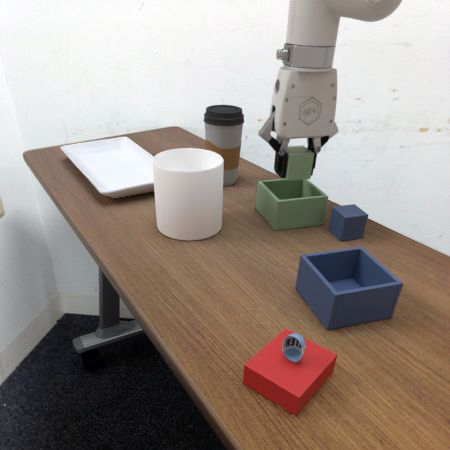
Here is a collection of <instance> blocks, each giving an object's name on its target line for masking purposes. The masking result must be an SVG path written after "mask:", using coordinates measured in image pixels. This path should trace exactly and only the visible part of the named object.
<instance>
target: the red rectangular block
mask: <svg viewBox="0 0 450 450" xmlns="http://www.w3.org/2000/svg"><path fill="white" fill-rule="evenodd" d="M337 359H338V354H337V353H334V352H333V351H331V350H329V349H327V348H324V347H323V346H321V345H319V344H317V343H315V342H313V341H311V340H310V339H307V338H305V337H304V336H303V335H302V334H299V333H296V332H293V331H292V330H290V329H288V328H284V329H283V330H282V331H281V332H280V333H278V335H276V336H275V337H274V338H273V339H272V340H270V342H268V343H267V344H266V345H265V346H263V348H261V350H259V351H258V352H257V353H256V354H255V355H254V356H252V358H250V359H249V360H248V361H246V363H244V365H243V377H242V383H243V384H244V385H245V386H247V387H249V388H250V389H252V390H253V391H255V392H256V393H258V394H259V395H261V396H263V397H264V398H266V399H268V401H271V402H272V403H274V404H275V405H277V406H279V407H280V408H282V409H284V410H285V411H287V413H290V414H292V416H294V417H295V416H297V415H298V414H299V413H300V411H302V409H303V408H304V407H305V406H306V405H307V403H308V402H309V401H310V400H311V399H312V398H313V397H314V395H315V394H316V393H317V392H318V391H319V390H320V388H321V387H323V385H324V384H325V382H327V380H328V379H329V378H330V377H331V376H332V374H334V369H335V366H336V362H337Z"/></svg>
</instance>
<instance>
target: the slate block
mask: <svg viewBox="0 0 450 450" xmlns="http://www.w3.org/2000/svg"><path fill="white" fill-rule="evenodd" d="M368 219H369V213H367V212H366V211H364V210H363V209H362V208H360V207H359V206H357V205H356V204H355V203H353V204H344V205H336V206H331V211H330V216H329V222H328V226H327V227H328V228H327V230H328V232H330V233H331V235H333V236H334V237H335V238H336V239H337V240H338V241H339V242H345V241H352V240H358V239H359V240H361V239H363V238H364V235H365V232H366V231H365V230H366V227H367V223H368Z"/></svg>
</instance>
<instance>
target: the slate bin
mask: <svg viewBox="0 0 450 450" xmlns="http://www.w3.org/2000/svg"><path fill="white" fill-rule="evenodd" d="M403 286H404V283H403V282H402V281H401V280H400V279H399V278H398V277H397V276H396V275H395V274H394V273H392V272H391V271H390V269H388V268H387V267H386V266H385V265H383V264H382V263H381V262H380V261H379V260H378V259H377V258H376V257H374V256H373V255H372V254H371V252H369V251H368V250H367V249H365V247H363V246H355V247H354V246H353V247H347V248H341V249H340V248H339V249H334V250H333V249H332V250H328V251H327V250H326V251H321V252H319V251H318V252H311V253H307V254H300V256H299V261H298V267H297V275H296V282H295V290H296V291H297V293H298V294H299V295H300V297H301V298H302V299H303V300H304V302H305V303H306V305H307V306H308V307H309V309H310V310H311V311H312V312H313V313H314V315H315V316H316V318H317V319H318V321H320V322H321V324H322V325H323V327H324V328H325V329H326V331H330V330H335V329H341V328H346V327H351V326H356V325H361V324H367V323H372V322H377V321H382V320H386V319H392V317H393V315H394V313H395V310H396V306H397V304H398V301H399V297H400V294H401V292H402V290H403V289H402V288H403Z"/></svg>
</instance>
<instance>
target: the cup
mask: <svg viewBox="0 0 450 450" xmlns="http://www.w3.org/2000/svg"><path fill="white" fill-rule="evenodd" d="M152 166H153V179H154V191H153V192H154V203H155V217H156V218H155V220H156V227H157V230H158V231H159V232H160V233H161V234H162V235H164V236H166V237H168V238H170V239H174V240H177V241H189V242H191V241H201V240H206V239H209V238H212V237H213V236H215V235H217V234H218V233H219V232H220V231H221V230H222V227H223V207H224V206H223V205H224V204H223V203H224V202H223V201H224V186H223V171H224V160H223V158H222V157H221V156H220V155H219V154H217V153H215V152H212V151H209V150H206V149H203V148H195V147H180V148H179V147H177V148H172V149H171V148H170V149H166V150H163V151H161V152H158V153H156V154H155V155H154V157H153V159H152Z"/></svg>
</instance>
